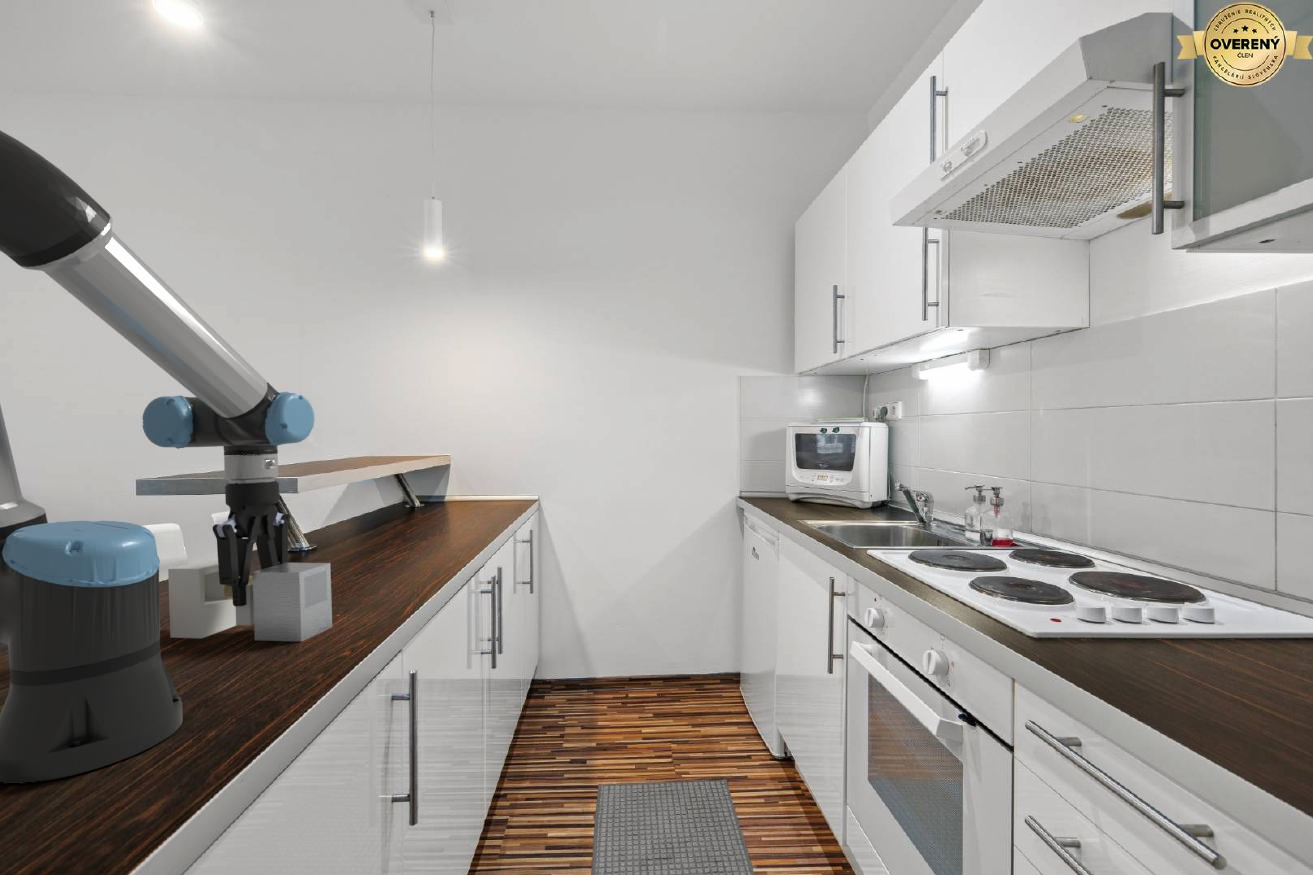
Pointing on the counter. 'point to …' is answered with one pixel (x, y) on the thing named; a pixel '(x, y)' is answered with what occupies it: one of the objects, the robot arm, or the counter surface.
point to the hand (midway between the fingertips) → (257, 619)
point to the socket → (198, 601)
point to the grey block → (292, 601)
